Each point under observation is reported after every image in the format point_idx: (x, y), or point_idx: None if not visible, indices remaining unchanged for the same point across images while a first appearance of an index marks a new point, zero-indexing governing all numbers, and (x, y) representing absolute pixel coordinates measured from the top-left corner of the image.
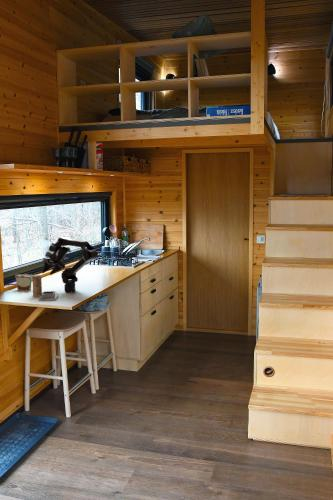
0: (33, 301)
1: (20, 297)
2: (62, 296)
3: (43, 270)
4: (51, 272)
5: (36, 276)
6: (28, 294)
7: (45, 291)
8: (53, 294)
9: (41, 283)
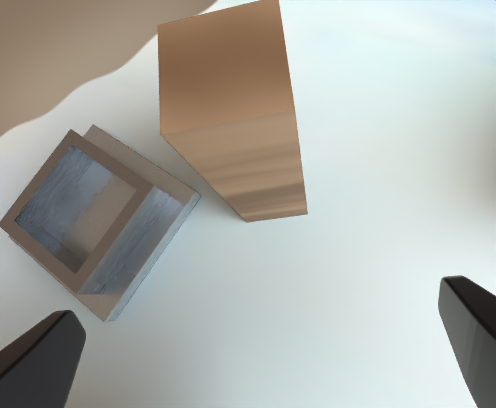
0: (115, 91)
1: (301, 51)
2: (83, 356)
3: (478, 333)
4: (10, 353)
5: (159, 41)
6: (372, 139)
7: (136, 205)
8: (6, 221)
9: (211, 185)
